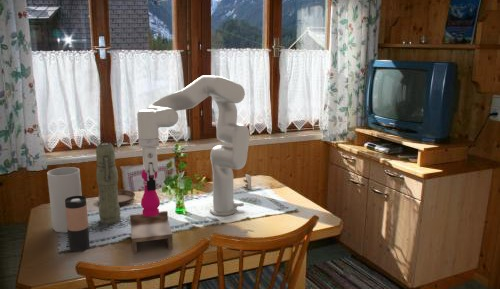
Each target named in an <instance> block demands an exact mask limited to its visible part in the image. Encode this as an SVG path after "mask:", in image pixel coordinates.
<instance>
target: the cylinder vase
mask: <svg viewBox="0 0 500 289" xmlns="http://www.w3.org/2000/svg"><path fill="white" fill-rule="evenodd" d="M46 174H47V175H46V176H47V186H48V193H49V195H48V196H49V204H50V212H51V213H50V214H51V223H52V229H53V230H54V231H55V232H56V233H63V234H65V233H68V230H67V220H66V208H65V199H66V198H68V197H72V196H83V195H82V182H81V171H80V168H78V167H74V166H72V167H70V166H67V167H66V166H65V167H57V168H54V169H50V170H48V171H47V172H46Z"/></svg>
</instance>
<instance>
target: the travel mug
mask: <svg viewBox="0 0 500 289" xmlns="http://www.w3.org/2000/svg"><path fill="white" fill-rule="evenodd" d="M87 204H88V203H87V197H86V196H84V195H82V196H72V197H68V198H66V199H65V208H66V220H67V230H68V232H67V236H68V244H69V250H70V251H71V252H75V253H76V252H77V253H81V252H84V251H87V250H88V249H89V248H90V246H91V245H90V228H89V218H88V217H89V216H88V207H87V206H88V205H87Z"/></svg>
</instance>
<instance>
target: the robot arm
mask: <svg viewBox="0 0 500 289" xmlns="http://www.w3.org/2000/svg"><path fill="white" fill-rule="evenodd" d="M209 97H211V98H212V99H213V100H214V102H215V104H216V106H217V110H218V114H217V116H218V117H217V124H216V125H217V126H216V139H217V140H218V141H219V142H222V143H226V144H231V145H232V146H231V145H224V144H218V145H215V146H214V147H212V149H211V150H210V157H209V158H210V162H211V168H212V169H211V170H212V202H213V203H212V206H210V208H209V212H210V213H211V214H213V215H215V216H224V217H225V216H231V215H234V214H235V213H236V212H238V207H244V205H245V204H244V202H243V201H239V200H238V201H235V200H234V172H233V169H234V170H241V169H243V168H244V167H245V165H246V163H247V159H248V151H249V144H250V139H251V138H250V130H249V127H247V125H245V124H243V123H238V122H237V120H238V109H237V105H236V104H239V103H241V102H242V101H244V99H245V97H246V92H245V88H244V87H243V85H242V84H240V83H238V82H236V81H233V80H231V79H228V78H227V77H224V76H219V75H207V74H206V75H201V76H200V77H198V78H197V79H195V80H194V81H192V82H191V83H190V84H188V85H187V86H186V87H184V88H182V89H180V90H178V91H175V92H172V93H169V94H168V95H165V96H162V97H160V98H159V99H156V100H155V101H154V102H152V103H151V104H150V105H149V106H148V107H147V108H145V109H139V110H138V112H137V114H136V116H137V118H136V119H137V132H138V133H137V137H138V147H139V148H141V150H142V153H141V154H142V164H143V168H144V169H145V173H147V190H148V191H151V190H157V187H156V186H157V180H156V179H155V172H157V174H158V172H159V162H158V161H159V160H158V149H157V147H159V146H160V139H159V138H160V137H159V135H160V134H159V128H171V127H174V126H175V125H176V124H177V123H178V121H179V114H178V112H177V111H185V110H189V109H193V108H195V107H196V106H198V105H199V104H200V103H201V102H203V101H204V100H206V99H207V98H209ZM144 169H143V170H144ZM154 170H155V172H154ZM148 171H150V172H148ZM149 174H150V175H149ZM155 180H156V181H155Z"/></svg>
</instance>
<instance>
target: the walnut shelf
mask: <svg viewBox="0 0 500 289" xmlns="http://www.w3.org/2000/svg"><path fill="white" fill-rule="evenodd" d="M129 216H130V218H129V219H130V233H131V236H132V237H131V247H132V254H137V253H138V252H137V251H138V249H137V243H138V242H139V243H140V242H147V241H156V240H164V239H165V240H166V243H167V247H168V249H169V250H173V249H174V247H173V246H174V243H173V242H174V241H173V240H174V239H173V232H172V228H171V225H170V221H169V214H168V210H162V211H161V210H159V214H158V215H156V216H144V215H143V212H142V213H141V212H140V213H134V214H133V213H131V214H130V215H129Z"/></svg>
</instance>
